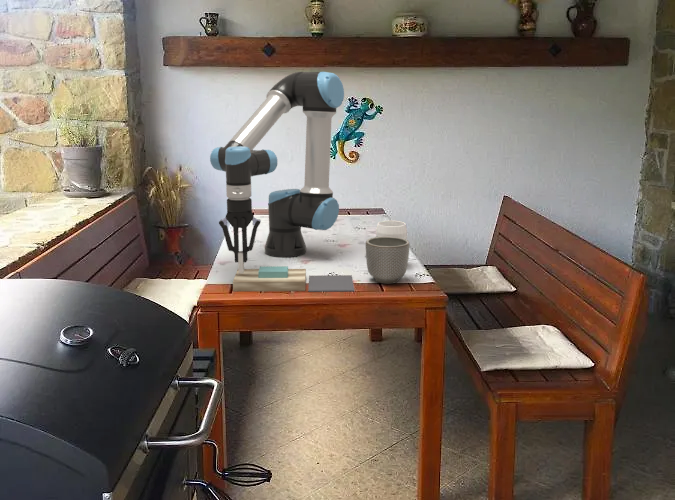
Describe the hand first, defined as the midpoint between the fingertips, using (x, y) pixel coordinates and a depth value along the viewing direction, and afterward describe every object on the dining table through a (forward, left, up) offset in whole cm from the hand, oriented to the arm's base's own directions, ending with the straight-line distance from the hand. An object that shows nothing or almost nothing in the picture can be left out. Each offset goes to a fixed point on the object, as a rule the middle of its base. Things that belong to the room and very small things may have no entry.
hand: (241, 272), depth 224 cm
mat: (0, +28, -4) cm, 28 cm away
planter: (-3, +46, -4) cm, 46 cm away
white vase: (-20, +49, -4) cm, 53 cm away
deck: (0, +9, -4) cm, 10 cm away
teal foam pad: (0, +10, -1) cm, 10 cm away
